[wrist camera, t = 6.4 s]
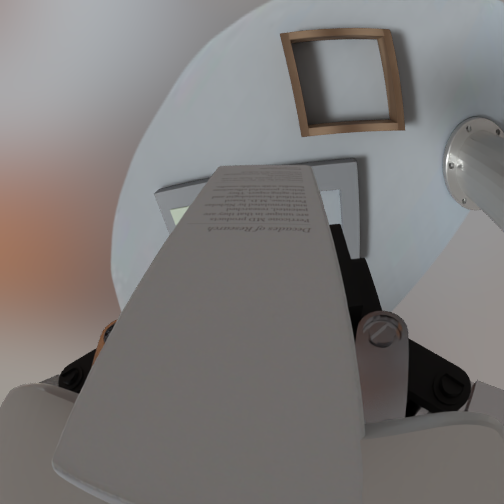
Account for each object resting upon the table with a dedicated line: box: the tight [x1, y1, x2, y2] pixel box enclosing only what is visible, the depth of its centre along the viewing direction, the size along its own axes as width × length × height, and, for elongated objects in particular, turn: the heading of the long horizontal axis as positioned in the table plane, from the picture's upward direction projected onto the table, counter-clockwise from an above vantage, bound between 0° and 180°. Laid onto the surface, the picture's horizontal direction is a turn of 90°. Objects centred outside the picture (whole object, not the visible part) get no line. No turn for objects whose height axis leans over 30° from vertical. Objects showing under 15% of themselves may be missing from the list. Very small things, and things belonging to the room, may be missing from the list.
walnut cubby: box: [280, 28, 405, 137], centre depth 22 cm, size 11×11×2 cm
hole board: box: [154, 158, 360, 259], centre depth 33 cm, size 24×14×2 cm, turn 102°
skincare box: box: [52, 165, 365, 504], centre depth 8 cm, size 6×4×12 cm
